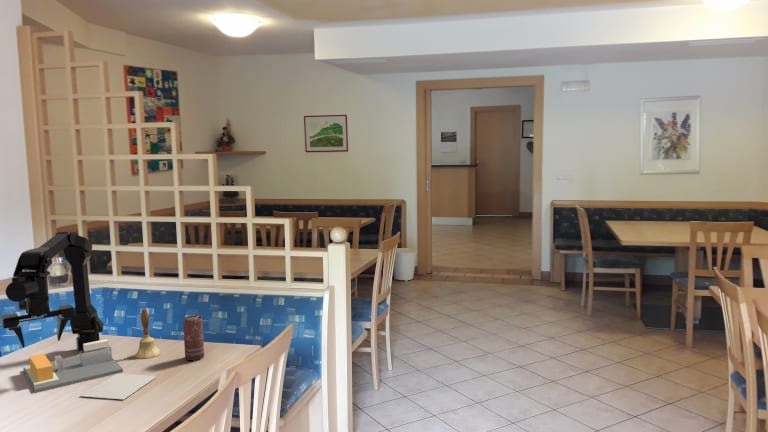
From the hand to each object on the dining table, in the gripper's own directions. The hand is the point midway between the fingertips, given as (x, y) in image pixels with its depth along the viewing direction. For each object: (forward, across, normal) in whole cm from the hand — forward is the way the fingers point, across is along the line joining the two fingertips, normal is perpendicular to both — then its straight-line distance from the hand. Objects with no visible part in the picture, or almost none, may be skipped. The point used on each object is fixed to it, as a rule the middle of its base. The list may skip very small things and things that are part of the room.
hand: (41, 343), depth 173 cm
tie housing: (+11, -12, -4) cm, 17 cm away
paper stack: (+12, -16, +25) cm, 33 cm away
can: (+12, -42, +10) cm, 45 cm away
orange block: (+10, 0, -4) cm, 11 cm away
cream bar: (+6, -16, -4) cm, 18 cm away
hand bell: (+12, -32, -4) cm, 34 cm away
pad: (+12, 0, -4) cm, 13 cm away
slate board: (+12, -8, -4) cm, 15 cm away
